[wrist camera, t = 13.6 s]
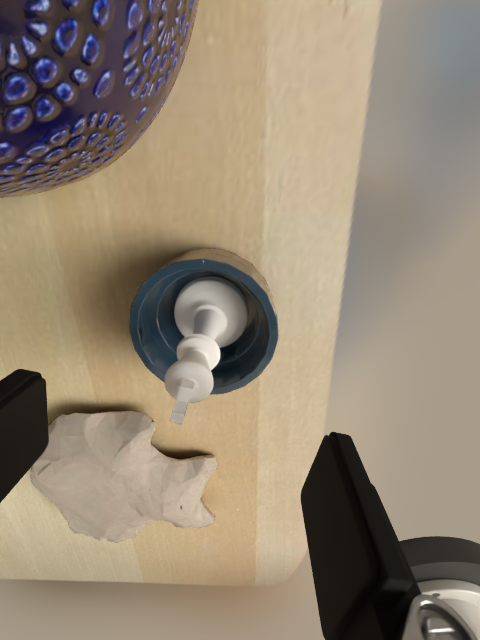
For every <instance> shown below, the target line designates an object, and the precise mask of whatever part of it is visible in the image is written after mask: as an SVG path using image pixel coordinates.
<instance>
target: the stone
mask: <svg viewBox="0 0 480 640" xmlns="http://www.w3.org/2000/svg"><path fill="white" fill-rule="evenodd" d="M155 430H156V426H155V423H154V421H153V419H152V418H150V417H149V416H148V415H147V414H145V413H140V412H134V411H124V412H105V413H95V414H83V413H73V414H69V415H64V414H61V415H60V416H59V417H58V418H57V419H55V420H54V421H53V422H52V423H51V424H50V425H49V426H48V433H49V442H48V446H47V448H46V450H45V451H44V453H43V454H42V455H41V456H40V457H39V458H38V460H37V461H36V462H35V463H34V464H33V465H32V467H31V482H32V484H33V485H34V486H35V487H36V488H38V489H39V490H40V491H41V492H42V493H43V494H44V495H45V496H46V497H47V498H48V499H50V500H51V501H52V502H54V503H55V505H56V506H57V507H58V509H59V510H60V512H61V513H62V515H63V516H64V518H65V519H66V520H67V522H68V525H69V528H70V529H71V530H72V531H73V532H74V533H76V534H83V535H87V536H91V537H93V538H95V539H98V540H108V541H112V542H115V543H117V542H120V541H123V540H126V539H129V538H132V537H134V536H136V534H137V533H138V532H139V530H140V529H141V528H142V527H143V526H144V525H145V524H147V523H148V522H150V521H152V520H164V521H168V522H171V523H172V524H174V525H175V526H176V527H180V528H203V527H206V526H208V525H210V524H212V523H213V521H214V520H215V515H214V514H213V513H212V512H211V511H210V510H209V509H208V508H207V507H206V506H205V505H204V503H203V502H202V501H201V500H200V499H201V496H202V494H203V491H204V489H205V486H206V484H207V482H208V479H209V478H210V476H211V475H212V474H213V473H214V472H215V471H216V469H217V462H216V457H215V456H213V455H205V456H197V457H192V458H187V459H174V458H170V457H166V456H165V455H164V454H162V453H160V452H159V451H158V450H157V449H156V448H155V447H153V446H152V445H151V443H150V442H151V437H152V435H153V434H154V432H155Z"/></svg>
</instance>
